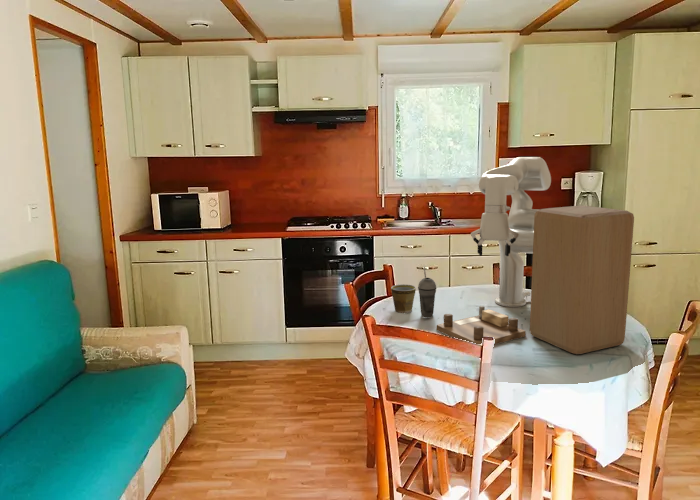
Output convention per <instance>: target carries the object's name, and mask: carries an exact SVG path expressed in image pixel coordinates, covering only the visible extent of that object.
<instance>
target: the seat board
mask: <svg viewBox="0 0 700 500" xmlns="http://www.w3.org/2000/svg"><path fill="white" fill-rule="evenodd" d="M483 310H486V309H485V306H484V305H480V306H479V308H478V315H474V316H471V317H465V318H462V319H457V320H454V319H453V318H454V314H452V313H445V314H443V322H442V323H438V324H436V329H435V330H436V331H437V332H440V333H442V334H444V335H446V336H448V337H451V338H453V337H455V338H458V339H462V340H466V341H469V342H473V343H476V344H481V343H482V338H483V336H489V337H494V339H495V344H494V345H498V344H502V343H505V342H509V341H513V340H517V339H521V338H524V337H526V336H527V335H526V333H527V332H526V330H524V329H521V328H519V318H516V317H510V318H509V319H508V325H507V326H503V327H500V326H497V325H495V324H492V323H490V322H487V321H484V320H482V311H483ZM455 338H454V339H455Z"/></svg>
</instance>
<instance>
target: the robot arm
mask: <svg viewBox="0 0 700 500" xmlns="http://www.w3.org/2000/svg"><path fill="white" fill-rule="evenodd" d="M551 175H552V174H551V172H550V170H549V167H548V165H547V162H546V161H545V160H544V159H543V158H542V157H540V156H518V157H516V158H513V159H512V160H511V161H510V162H509V163H508V164H506V165H502V166H499V167H495V168H492V169H490V170H487V171H486V172H484V173H483V174H482V175H481V176H480V179H479V181H478V189H479V192H481V193H482V194H483V195H484V200H485V201H484V212H483V213H482V214H481V218H480V227H479V228H478V229H475V230H474V231H472V232H471V233H470V236H471V239H472V240H473V241H474V242H475V243H476V244H477V254H478V256H479V257H482V256H483V243H484V242H486V241H498V248H499V256H500V257H499V287H498V289H499V291H498V293H499V294H498V297H496V298H495V299H494V302H495V303H496V304H497V305H499V306H501V307H502V306H503V307H509V308H517V307H519V308H520V307H523V306H525V305H526V304H527V300H526V299H525V297H531V291H524V267H525V264H524V260H523V258H522V256H521V255H520V254H521V253H522V254H532V255H533V239H534V215H535V213H536V211H538V210H539V209H534V208H533V203H534V202H533V200H532V198H531V196H530V195H528V193H527V192H525V191H547V190H548V189H549V188H550V186H551V183H552V176H551ZM507 196H511V205H510V206H511V207H510V206H508V205H507ZM507 211H509V214H508V213H507ZM478 234H479V239H478V238H477V237H476V235H478Z"/></svg>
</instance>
